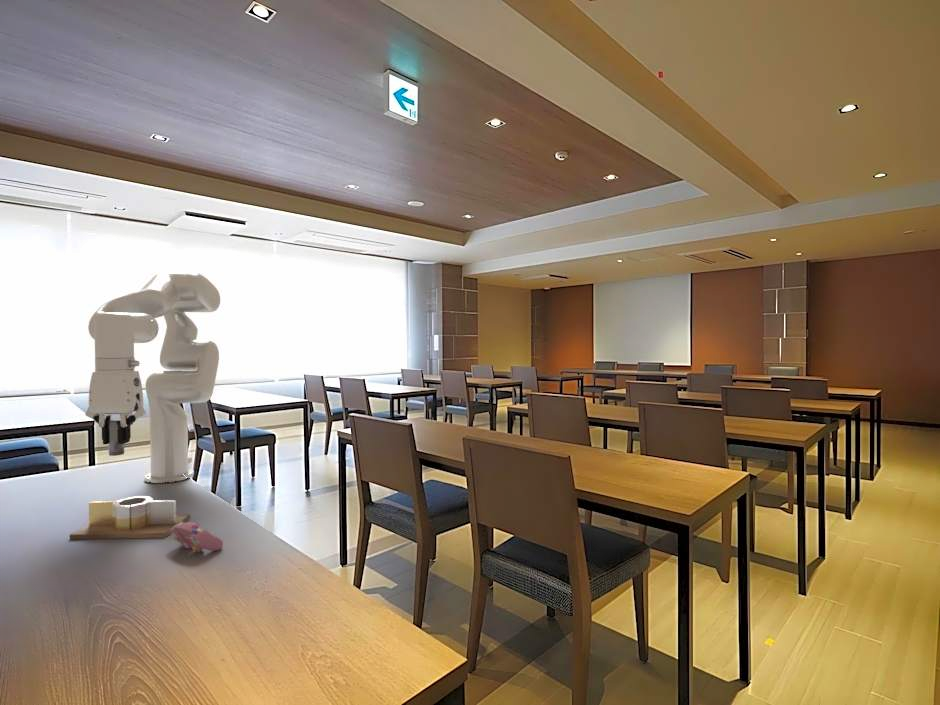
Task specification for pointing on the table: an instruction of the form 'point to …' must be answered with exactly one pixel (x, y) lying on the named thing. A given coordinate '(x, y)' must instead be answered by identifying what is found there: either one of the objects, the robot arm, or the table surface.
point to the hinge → (132, 512)
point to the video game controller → (195, 537)
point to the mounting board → (127, 531)
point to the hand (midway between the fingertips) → (116, 442)
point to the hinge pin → (114, 438)
